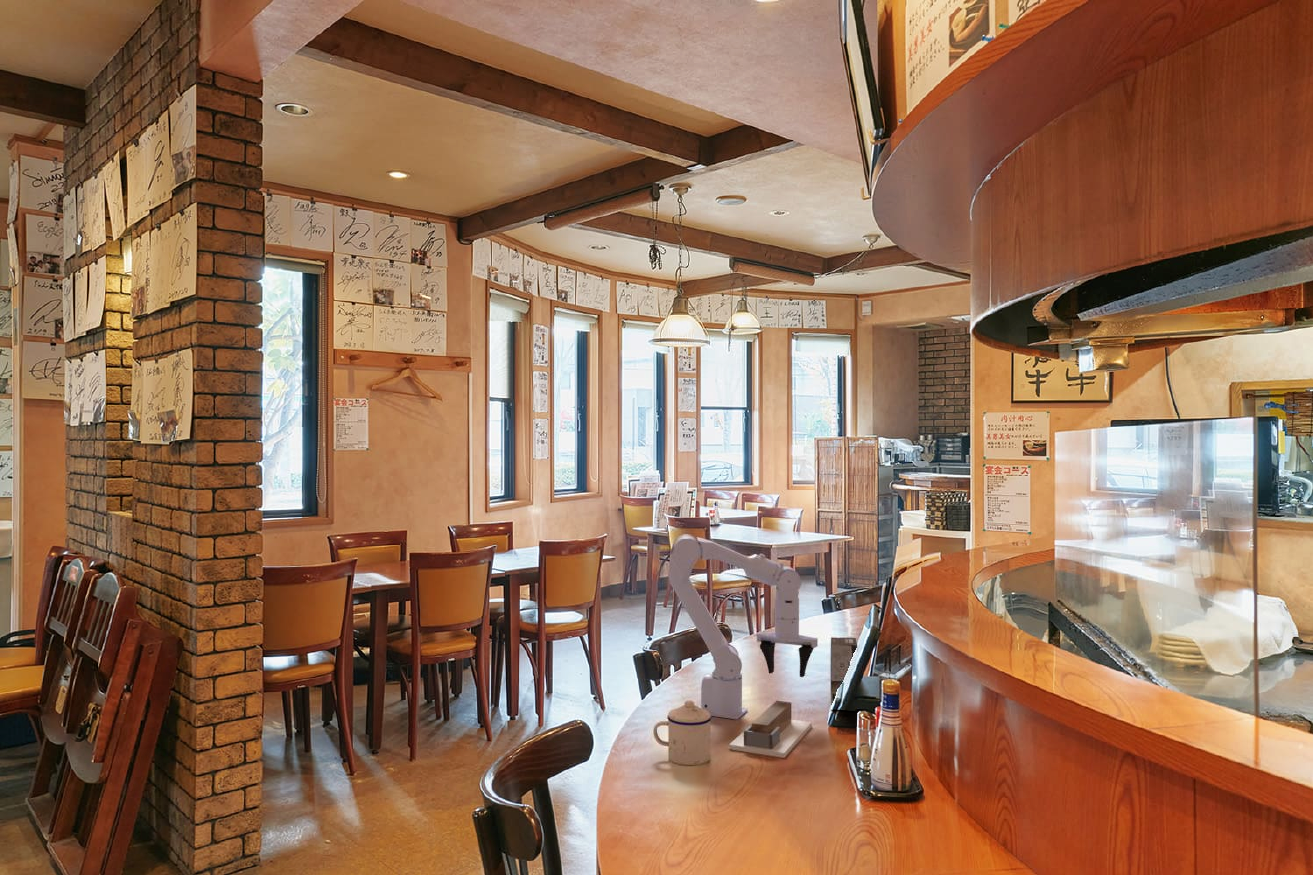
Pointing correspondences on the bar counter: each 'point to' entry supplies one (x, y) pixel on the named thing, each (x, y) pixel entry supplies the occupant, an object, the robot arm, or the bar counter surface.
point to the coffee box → (840, 661)
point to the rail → (773, 718)
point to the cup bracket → (771, 739)
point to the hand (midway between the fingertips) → (786, 674)
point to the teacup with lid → (687, 734)
